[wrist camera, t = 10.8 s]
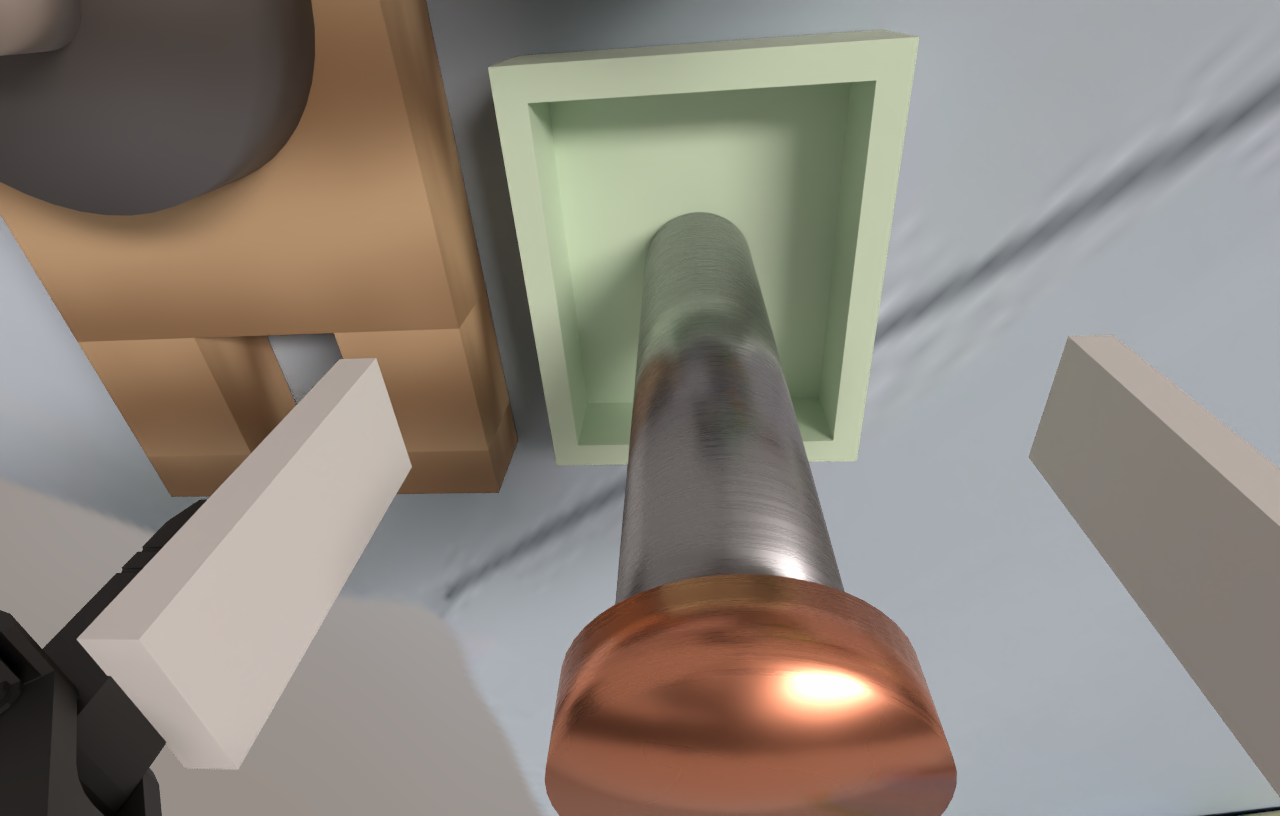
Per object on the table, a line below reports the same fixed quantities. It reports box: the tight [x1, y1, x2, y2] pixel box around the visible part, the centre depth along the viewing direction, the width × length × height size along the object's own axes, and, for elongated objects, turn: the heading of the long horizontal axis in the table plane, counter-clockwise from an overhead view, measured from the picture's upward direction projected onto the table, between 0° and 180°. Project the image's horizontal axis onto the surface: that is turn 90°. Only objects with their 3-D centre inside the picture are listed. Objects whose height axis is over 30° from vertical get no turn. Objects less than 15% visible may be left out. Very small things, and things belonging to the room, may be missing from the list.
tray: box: [488, 30, 919, 466], centre depth 19 cm, size 12×10×3 cm
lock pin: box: [545, 212, 957, 816], centre depth 13 cm, size 4×4×15 cm
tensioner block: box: [0, 0, 518, 497], centre depth 17 cm, size 20×12×7 cm, turn 4°
